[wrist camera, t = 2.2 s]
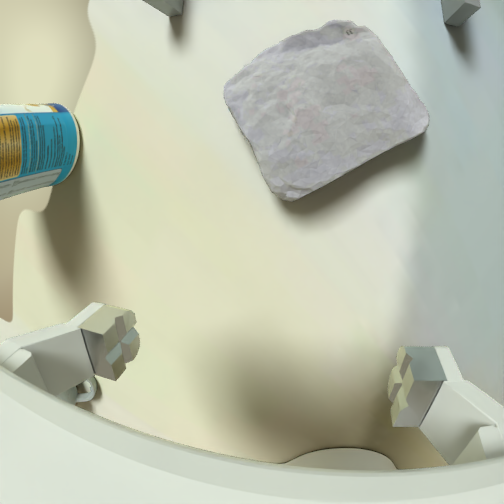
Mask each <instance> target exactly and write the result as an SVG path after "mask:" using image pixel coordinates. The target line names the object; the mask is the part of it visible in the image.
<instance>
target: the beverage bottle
mask: <svg viewBox="0 0 504 504" xmlns="http://www.w3.org/2000/svg"><path fill="white" fill-rule="evenodd" d="M79 146H80V135H79V129H78V125H77V122H76V119H75V117H74V115H73V114H72V113H71V111H70V110H69V109H68V108H66V107H65V106H63V105H61V104H7V105H0V200H2V199H5V198H8V197H11V196H15V195H18V194H21V193H25V192H28V191H31V190H35V189H39V188H42V187H47V186H52V185H56V184H59V183H61V182H62V181H64V180H65V179H66V178H67V177H68V176H69V175H70V173H71V172H72V170H73V168H74V166H75V164H76V161H77V158H78V153H79Z"/></svg>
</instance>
